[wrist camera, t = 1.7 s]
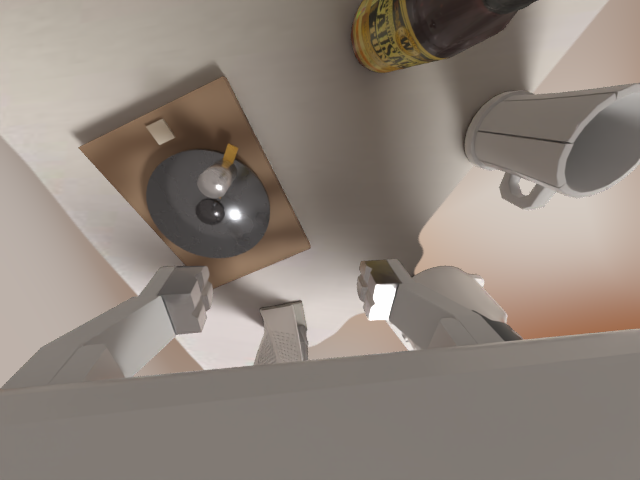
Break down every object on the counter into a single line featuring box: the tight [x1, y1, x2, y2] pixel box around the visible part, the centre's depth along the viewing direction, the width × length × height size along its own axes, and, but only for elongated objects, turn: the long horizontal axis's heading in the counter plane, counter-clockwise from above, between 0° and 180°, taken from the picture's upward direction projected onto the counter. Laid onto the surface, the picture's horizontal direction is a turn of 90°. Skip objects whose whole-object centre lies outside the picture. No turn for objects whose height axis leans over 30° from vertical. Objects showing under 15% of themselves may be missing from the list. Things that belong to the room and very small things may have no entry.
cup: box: [465, 83, 640, 210], centre depth 25 cm, size 10×9×12 cm
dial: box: [146, 143, 270, 258], centre depth 24 cm, size 14×13×6 cm
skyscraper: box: [254, 301, 308, 365], centre depth 28 cm, size 8×8×28 cm
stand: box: [78, 76, 311, 289], centre depth 28 cm, size 21×16×2 cm
